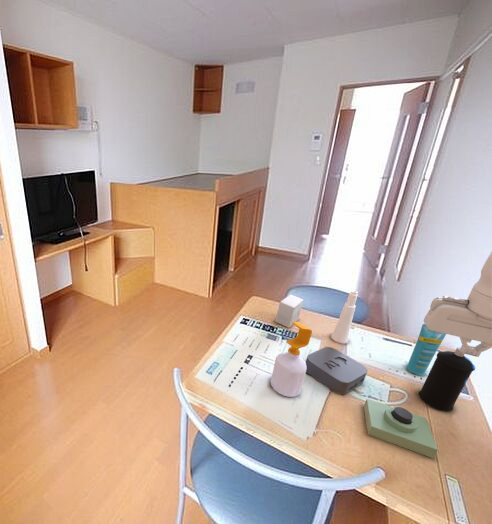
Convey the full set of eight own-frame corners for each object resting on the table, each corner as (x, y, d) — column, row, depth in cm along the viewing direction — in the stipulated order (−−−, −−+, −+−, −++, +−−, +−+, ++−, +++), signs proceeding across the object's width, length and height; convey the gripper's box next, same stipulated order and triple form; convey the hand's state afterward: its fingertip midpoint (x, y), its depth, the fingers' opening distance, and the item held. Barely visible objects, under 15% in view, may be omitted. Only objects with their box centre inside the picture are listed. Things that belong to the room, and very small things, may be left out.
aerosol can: (427, 408, 93) (454, 356, 85) (412, 388, 100) (435, 338, 92) (459, 414, 91) (490, 361, 83) (441, 393, 98) (468, 342, 90)
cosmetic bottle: (348, 345, 120) (364, 296, 112) (330, 340, 123) (345, 292, 115) (347, 337, 125) (363, 290, 117) (331, 333, 128) (345, 286, 120)
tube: (408, 374, 106) (428, 328, 99) (399, 364, 110) (418, 320, 103) (432, 376, 105) (454, 330, 98) (422, 367, 109) (443, 322, 102)
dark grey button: (408, 415, 85) (411, 410, 84) (411, 426, 81) (414, 421, 81) (390, 410, 86) (393, 404, 86) (393, 420, 83) (395, 415, 82)
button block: (422, 425, 87) (428, 413, 85) (433, 458, 78) (440, 445, 76) (363, 406, 93) (368, 393, 91) (367, 434, 84) (373, 421, 82)
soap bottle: (264, 380, 102) (277, 319, 93) (285, 374, 105) (300, 313, 96) (284, 400, 95) (301, 335, 85) (306, 393, 98) (325, 329, 88)
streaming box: (325, 356, 114) (329, 345, 112) (366, 381, 103) (371, 369, 101) (300, 368, 108) (303, 357, 106) (340, 397, 96) (345, 385, 94)
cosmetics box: (289, 328, 131) (294, 307, 127) (274, 322, 135) (279, 301, 131) (299, 319, 137) (304, 299, 133) (285, 313, 142) (289, 293, 138)
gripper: (439, 299, 72) (418, 347, 77) (569, 324, 63) (534, 376, 68) (431, 289, 77) (412, 334, 82) (550, 310, 68) (520, 359, 73)
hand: (468, 353), depth 75 cm, fingers closed
